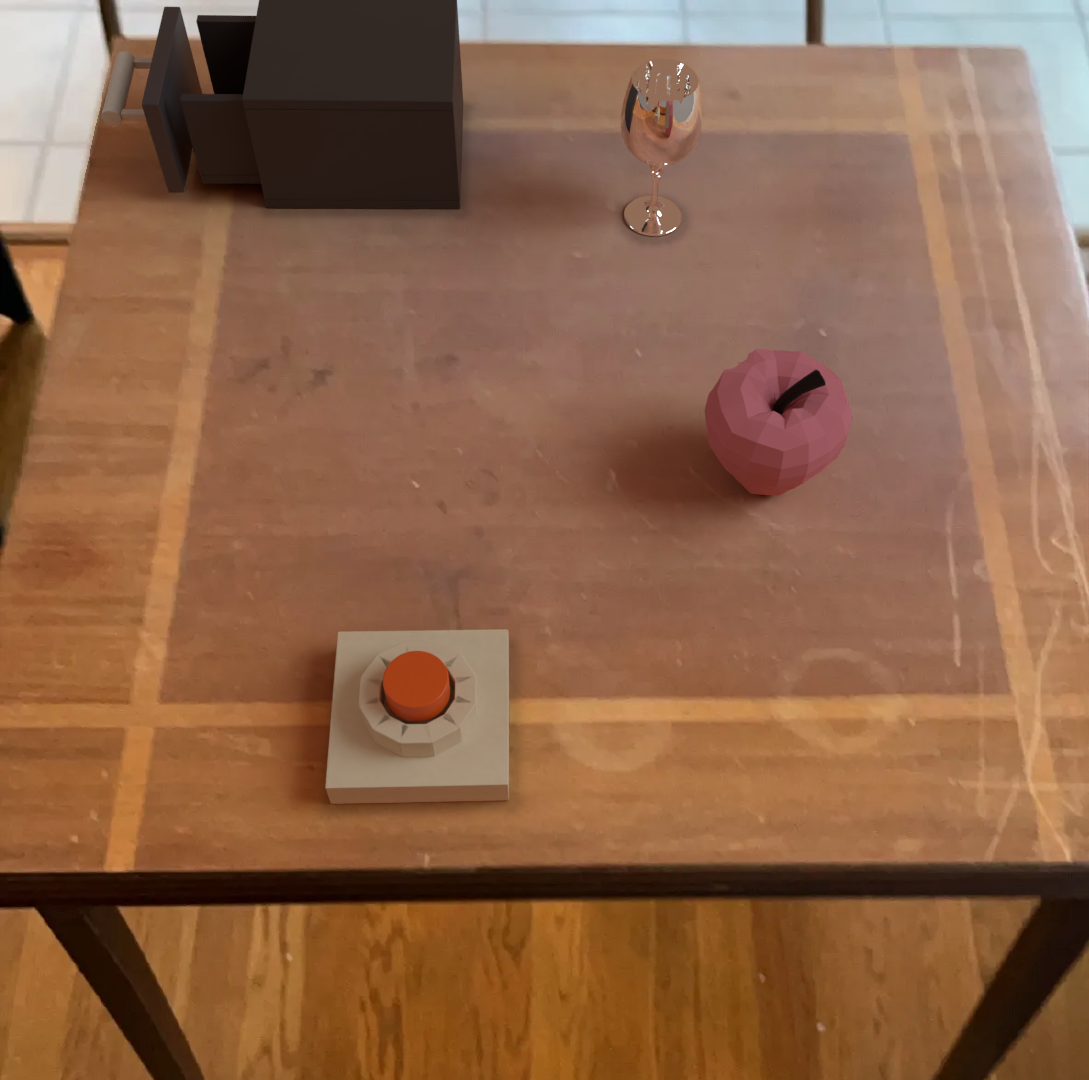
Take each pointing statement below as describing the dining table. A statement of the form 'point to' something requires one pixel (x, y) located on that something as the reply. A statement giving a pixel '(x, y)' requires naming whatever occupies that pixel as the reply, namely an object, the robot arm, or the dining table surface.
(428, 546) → the dining table surface
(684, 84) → the wineglass
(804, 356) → the apple
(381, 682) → the control block
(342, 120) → the dark brown box
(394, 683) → the button
